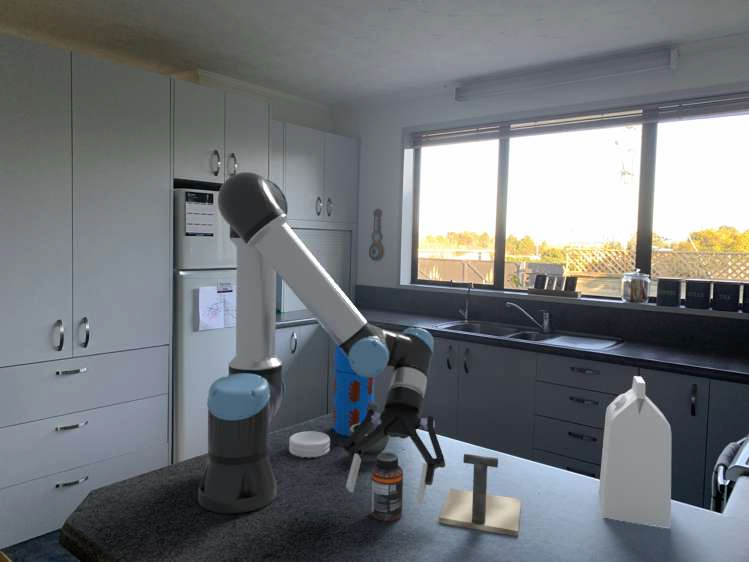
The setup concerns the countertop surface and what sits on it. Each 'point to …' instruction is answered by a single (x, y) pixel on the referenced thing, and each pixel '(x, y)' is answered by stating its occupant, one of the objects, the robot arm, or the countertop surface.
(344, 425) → the thermos
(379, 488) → the supplement bottle
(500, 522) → the headphone stand
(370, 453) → the mortar and pestle
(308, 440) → the white round container
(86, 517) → the countertop surface
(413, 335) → the robot arm
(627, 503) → the milk
